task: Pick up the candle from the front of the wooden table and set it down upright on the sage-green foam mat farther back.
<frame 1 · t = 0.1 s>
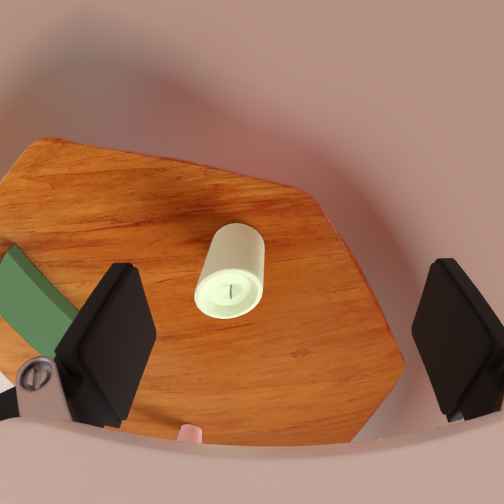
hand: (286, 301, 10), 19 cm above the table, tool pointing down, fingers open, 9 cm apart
foam: (47, 318, 38), on the table
smoothie: (191, 427, 49), on the table
candle: (238, 245, 30), on the table
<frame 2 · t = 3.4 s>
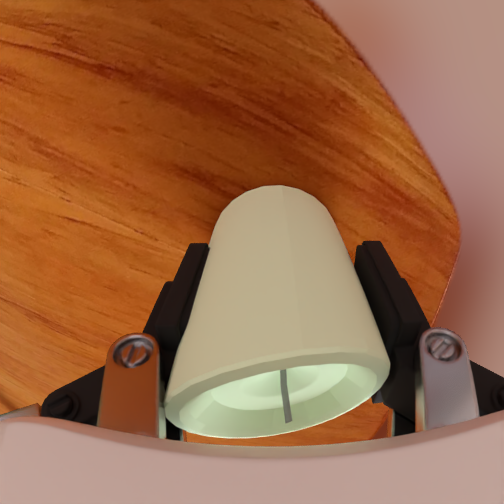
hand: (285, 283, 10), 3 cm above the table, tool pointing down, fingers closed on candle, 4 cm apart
candle: (275, 241, 13), on the table, touching gripper
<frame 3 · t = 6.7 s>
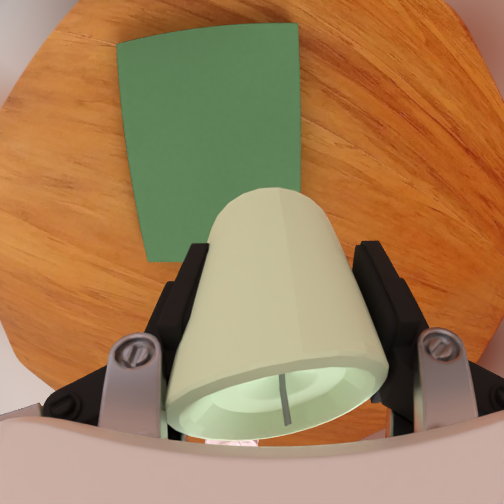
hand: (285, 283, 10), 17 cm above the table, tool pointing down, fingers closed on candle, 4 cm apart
foam: (213, 146, 25), on the table
candle: (271, 243, 13), point 15 cm above the table, touching gripper
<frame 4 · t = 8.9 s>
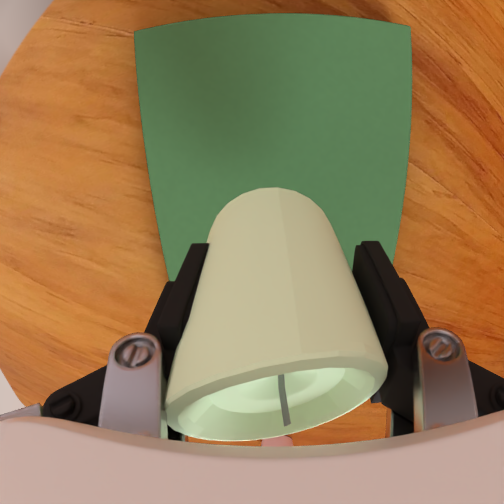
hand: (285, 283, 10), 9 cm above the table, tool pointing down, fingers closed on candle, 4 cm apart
foam: (279, 190, 18), on the table
smoothie: (277, 439, 34), on the table
candle: (271, 243, 13), point 6 cm above the table, touching gripper
when the fingers open (5 cm above the table, at t = 10.4 s): candle stays where it is, resting on foam.
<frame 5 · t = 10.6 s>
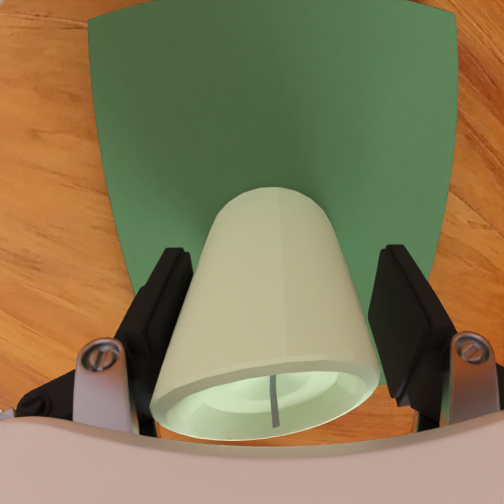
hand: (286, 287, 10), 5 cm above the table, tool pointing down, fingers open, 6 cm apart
foam: (280, 223, 14), on the table
candle: (272, 243, 13), point 2 cm above the table, touching foam
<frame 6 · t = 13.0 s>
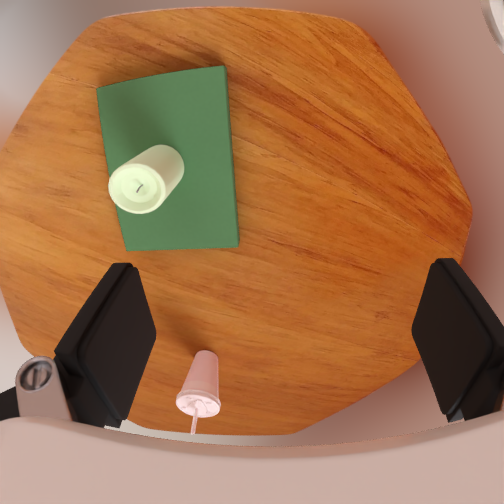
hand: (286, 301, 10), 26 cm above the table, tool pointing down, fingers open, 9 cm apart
foam: (170, 162, 34), on the table
smoothie: (206, 357, 49), on the table
candle: (162, 166, 32), point 2 cm above the table, touching foam
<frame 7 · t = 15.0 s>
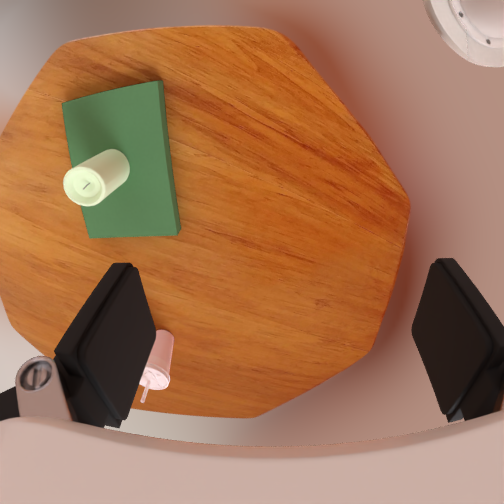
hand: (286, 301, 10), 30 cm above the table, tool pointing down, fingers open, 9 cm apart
foam: (122, 163, 38), on the table
smoothie: (164, 336, 54), on the table
candle: (113, 167, 37), point 2 cm above the table, touching foam
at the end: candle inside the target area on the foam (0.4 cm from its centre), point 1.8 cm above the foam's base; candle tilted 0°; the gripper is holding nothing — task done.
